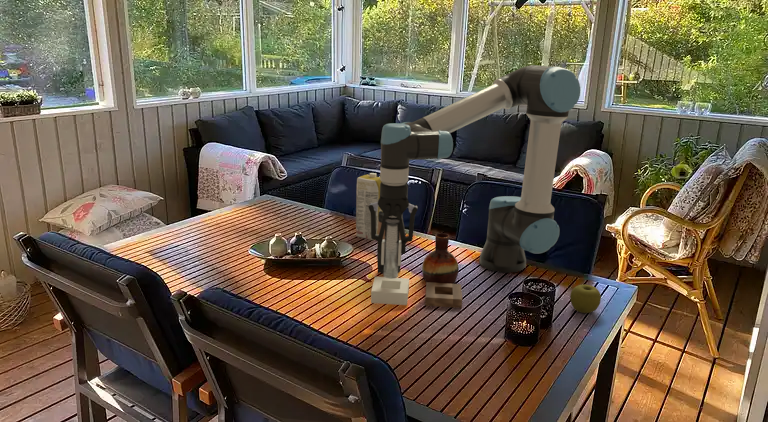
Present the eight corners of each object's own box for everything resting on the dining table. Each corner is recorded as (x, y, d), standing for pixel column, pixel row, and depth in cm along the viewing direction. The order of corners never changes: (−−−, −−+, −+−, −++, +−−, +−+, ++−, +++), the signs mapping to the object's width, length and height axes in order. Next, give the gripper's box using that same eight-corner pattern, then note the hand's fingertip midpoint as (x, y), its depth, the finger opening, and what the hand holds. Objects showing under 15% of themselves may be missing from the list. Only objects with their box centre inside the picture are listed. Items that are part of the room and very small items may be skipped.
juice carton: (385, 236, 211) (387, 173, 204) (374, 242, 205) (375, 178, 197) (365, 231, 216) (366, 170, 209) (353, 236, 209) (353, 174, 202)
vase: (433, 293, 165) (436, 243, 160) (414, 279, 174) (416, 232, 170) (464, 286, 170) (468, 238, 165) (444, 273, 179) (447, 227, 174)
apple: (595, 320, 151) (599, 296, 149) (565, 312, 155) (568, 288, 153) (601, 309, 157) (605, 286, 155) (572, 302, 161) (575, 279, 159)
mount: (460, 295, 164) (460, 284, 163) (461, 311, 154) (462, 299, 153) (425, 293, 165) (426, 282, 164) (425, 308, 155) (425, 297, 154)
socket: (408, 292, 165) (409, 278, 163) (406, 308, 155) (407, 293, 154) (374, 290, 165) (375, 276, 164) (370, 306, 156) (371, 291, 154)
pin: (399, 272, 160) (402, 215, 155) (398, 279, 155) (401, 220, 150) (382, 271, 160) (384, 214, 155) (381, 278, 156) (383, 219, 151)
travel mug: (398, 279, 174) (400, 217, 168) (374, 276, 175) (375, 215, 169) (402, 269, 181) (404, 210, 175) (379, 267, 182) (380, 208, 176)
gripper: (426, 180, 153) (421, 260, 160) (364, 177, 154) (362, 256, 161) (425, 187, 146) (421, 270, 153) (360, 184, 147) (359, 266, 154)
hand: (391, 263), depth 157 cm, fingers closed on pin, 4 cm apart
